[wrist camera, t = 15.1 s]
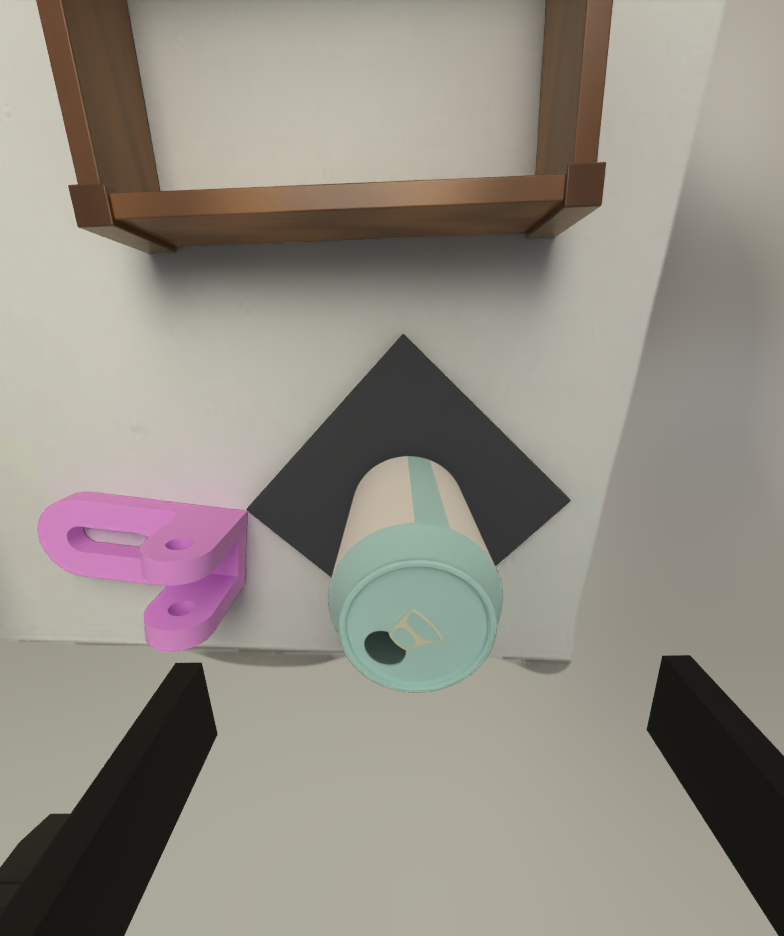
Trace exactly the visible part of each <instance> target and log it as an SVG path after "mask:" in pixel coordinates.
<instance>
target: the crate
mask: <svg viewBox="0 0 784 936" xmlns="http://www.w3.org/2000/svg"><path fill="white" fill-rule="evenodd" d="M36 1H37V6H38V10H39V15H40V19H41V23H42V28H43V32H44V37H45V41H46V45H47V50H48V54H49V59H50V63H51V67H52V72H53V76H54V81H55V85H56V89H57V94H58V98H59V103H60V107H61V111H62V116H63V120H64V125H65V129H66V133H67V138H68V142H69V146H70V151H71V155H72V160H73V164H74V168H75V173H76V177H77V182H78V185H68V187H69V191H70V196H71V200H72V204H73V208H74V213H75V217H76V221H77V226H78V227H79V228H82V229H84V230H87V231H90V232H92V233H95V234H98V235H100V236H103V237H106V238H108V239H111V240H114V241H116V242H119V243H122V244H124V245H127V246H130V247H132V248H135V249H138V250H140V251H143V252H146V253H148V254H154V253H175V252H176V249H175V247H177V246H202V245H227V244H252V243H277V242H302V241H327V240H352V239H377V238H402V237H427V236H452V235H477V234H502V233H527V235H526V237H527V238H528V239H530V238H554V237H556V236H558V235H559V234H560V233H562V232H563V231H565V230H566V229H568V228H569V227H571V226H572V225H574V224H575V223H577V222H578V221H579V220H581V219H582V218H584V217H585V216H587V215H588V214H590V213H591V212H593V211H594V210H596V209H597V208H599V207H600V206H601V205H602V197H603V187H604V178H605V168H606V162H597V156H598V146H599V136H600V126H601V116H602V106H603V96H604V86H605V76H606V66H607V55H608V45H609V35H610V25H611V15H612V5H613V0H546V14H545V30H544V47H543V63H542V79H541V95H540V112H539V128H538V144H537V160H536V175H533V176H509V177H486V178H462V179H439V180H415V181H391V182H368V183H344V184H321V185H297V186H274V187H250V188H227V189H203V190H180V191H160V189H159V183H158V177H157V172H156V166H155V160H154V155H153V149H152V143H151V138H150V132H149V126H148V121H147V115H146V109H145V104H144V98H143V92H142V87H141V81H140V75H139V70H138V64H137V58H136V53H135V47H134V41H133V36H132V30H131V24H130V19H129V13H128V7H127V2H126V0H36Z"/></svg>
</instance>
